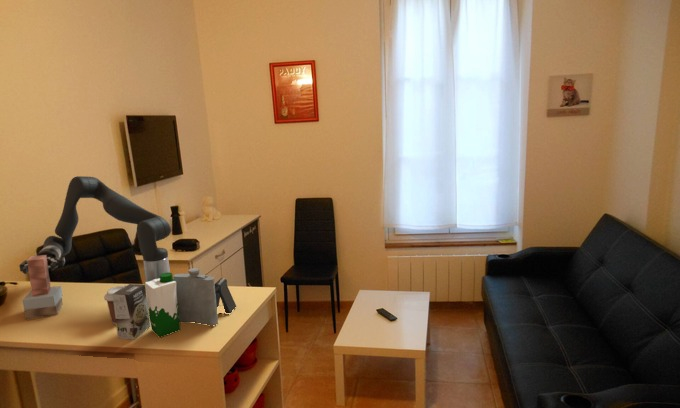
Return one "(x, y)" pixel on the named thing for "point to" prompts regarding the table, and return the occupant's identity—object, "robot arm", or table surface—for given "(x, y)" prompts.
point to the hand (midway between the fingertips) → (38, 269)
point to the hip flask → (196, 298)
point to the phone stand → (224, 295)
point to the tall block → (39, 275)
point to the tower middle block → (42, 299)
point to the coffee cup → (109, 299)
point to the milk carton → (163, 304)
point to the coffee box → (131, 311)
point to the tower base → (43, 311)
